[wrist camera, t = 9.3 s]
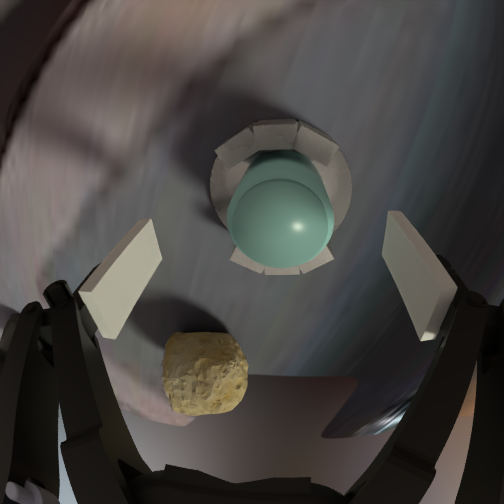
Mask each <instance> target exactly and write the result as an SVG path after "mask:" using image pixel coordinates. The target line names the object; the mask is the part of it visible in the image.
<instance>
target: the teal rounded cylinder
mask: <svg viewBox="0 0 504 504" xmlns="http://www.w3.org/2000/svg"><path fill="white" fill-rule="evenodd" d="M227 225H228V230H229V233H230V236H231V238H232V240H233V242H234V243H235V245H236V246H237V247H238V249H239V250H240V251H241V252H242V253H243V254H245V255H246V256H247V257H249V258H250V259H252V260H253V261H255V262H257V263H260V264H262V265H265V266H268V267H274V268H289V267H294V266H297V265H301V264H303V263H306V262H308V261H309V260H311V259H313V258H314V257H316V256H317V255H318V254H319V253H320V252H321V251H322V250H323V249H324V248H325V246H326V245H327V243H328V242H329V240H330V237H331V235H332V232H333V227H334V214H333V209H332V206H331V203H330V200H329V197H328V194H327V192H326V189H325V186H324V183H323V180H322V178H321V175H320V173H319V171H318V169H317V168H316V167H315V165H314V164H313V163H312V162H311V161H310V160H308V159H307V158H306V157H304V156H302V155H300V154H298V153H295V152H292V151H286V150H278V151H272V152H268V153H265V154H263V155H261V156H259V157H258V158H257V159H255V160H254V161H253V162H252V163H251V164H250V165H249V166H248V168H247V170H246V171H245V173H244V175H243V177H242V179H241V181H240V183H239V185H238V187H237V189H236V191H235V193H234V195H233V197H232V199H231V202H230V204H229V207H228V212H227Z"/></svg>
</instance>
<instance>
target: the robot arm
mask: <svg viewBox="0 0 504 504" xmlns="http://www.w3.org/2000/svg"><path fill="white" fill-rule="evenodd" d="M382 256H383V258H384V260H385V262H386V264H387V266H388V268H389V270H390V272H391V274H392V277H393V279H394V281H395V283H396V285H397V287H398V289H399V292H400V294H401V296H402V298H403V300H404V303H405V305H406V307H407V310H408V312H409V314H410V317H411V319H412V321H413V324H414V326H415V329H416V331H417V334H418V336H419V339H420V341H425V340H431V339H435V338H436V336H437V334H438V332H439V330H441V332H442V334H443V337H442V339H441V341H440V343H439V345H438V347H437V349H436V351H435V352H434V353H435V355H434V357H433V360H432V362H431V364H430V366H429V368H428V370H427V372H426V375H425V377H424V379H423V381H422V383H421V385H420V386H419V388H418V390H417V392H416V394H415V396H414V398H413V400H412V401H411V403H410V405H409V407H408V408H407V410H406V412H405V414H404V415H403V417H402V419H401V420H400V422H399V424H398V425H397V427H396V428H395V430H394V431H393V433H392V435H391V436H390V438H389V439H388V441H387V442H386V444H385V445H384V447H383V448H382V449H381V451H380V452H379V454H378V455H377V457H376V458H375V459H374V460H373V462H372V463H371V465H370V466H369V467H368V468H367V470H366V471H365V472H364V473H363V474H362V475H361V477H360V478H359V479H358V480H357V481H356V482H355V483H354V484H353V486H352V487H351V488H350V489H349V490H348V491H347V492H346V493H345V495H344V496H343V495H342V494H341V493H339V492H337V491H335V490H334V489H331V488H329V487H327V486H323V485H320V484H316V483H311V477H301V478H300V477H299V478H268V479H263V480H258V481H251V482H244V483H230V482H228V481H225V480H222V479H219V478H216V477H214V476H211V475H209V474H206V473H203V472H201V471H198V470H193V469H187V468H181V467H177V466H172V465H167V464H166V466H165V469H164V470H160V471H154V472H152V471H151V470H150V468H149V467H148V465H147V464H146V463H145V462H144V461H143V460H142V458H141V456H140V454H139V452H138V450H137V448H136V446H135V444H134V442H133V439H132V437H131V435H130V432H129V430H128V428H127V425H126V423H125V421H124V418H123V416H122V413H121V410H120V408H119V405H118V403H117V400H116V397H115V394H114V392H113V389H112V386H111V383H110V380H109V377H108V374H107V370H106V367H105V364H104V361H103V357H102V354H101V350H100V347H99V343H98V339H97V338H96V336H95V332H96V331H97V329H99V331H100V333H101V335H102V336H103V337H104V338H111V339H116V338H117V336H118V334H119V332H120V331H121V329H122V327H123V325H124V323H125V321H126V320H127V318H128V316H129V314H130V313H131V311H132V309H133V307H134V305H135V304H136V302H137V300H138V299H139V297H140V295H141V293H142V292H143V290H144V288H145V287H146V285H147V283H148V282H149V280H150V278H151V277H152V275H153V273H154V272H155V270H156V268H157V267H158V265H159V263H160V262H161V260H162V257H161V253H160V249H159V246H158V242H157V239H156V235H155V231H154V227H153V223H152V219H140V220H139V221H138V222H137V223H136V224H135V225H134V226H133V227H132V229H131V230H130V231H129V232H128V233H127V234H126V235H125V236H124V237H123V238H122V240H121V241H120V242H119V243H118V244H117V245H116V246H115V247H114V249H113V250H112V251H111V252H110V253H109V254H108V255H107V257H106V258H105V259H104V260H103V261H102V262H101V263H100V264H98V265H97V266H96V267H94V268H93V269H92V271H91V272H90V273H89V275H87V277H86V278H85V280H83V282H82V283H81V284H80V285H79V286H78V288H77V289H76V290H75V292H74V293H73V294H72V292H71V290H70V288H69V286H68V284H67V282H66V281H65V280H58V281H55V282H53V283H52V284H50V285H49V286H48V287H47V288H46V289H45V290H44V293H43V295H44V297H45V299H46V301H47V303H48V305H49V306H50V308H48V309H43V308H42V306H41V304H40V302H37V301H35V302H32V303H29V304H28V305H26V306H25V307H24V308H23V310H22V311H21V314H20V315H18V314H13V315H12V316H11V317H10V318H9V320H8V321H7V323H6V325H5V328H4V331H3V334H2V337H1V340H0V504H60V502H59V500H58V499H59V486H60V479H59V460H58V410H59V403H60V409H61V414H62V419H63V423H64V428H65V432H66V438H67V439H66V441H64V442H61V445H60V447H61V453H62V457H63V461H64V464H65V468H66V471H67V475H68V477H69V481H70V484H71V487H72V490H73V492H74V495H75V498H76V501H77V503H78V504H419V502H420V501H421V499H422V498H423V496H424V495H425V493H426V491H427V490H428V488H429V486H430V485H431V483H432V481H433V479H434V477H435V474H436V469H435V464H436V462H437V460H438V458H439V456H440V454H441V452H442V450H443V448H444V446H445V444H446V442H447V440H448V438H449V436H450V433H451V431H452V429H453V427H454V424H455V422H456V419H457V417H458V415H459V412H460V410H461V407H462V404H463V402H464V399H465V396H466V393H467V390H468V387H469V384H470V381H471V378H472V375H473V371H474V368H475V365H476V361H477V385H476V399H475V409H474V418H473V426H472V432H471V438H470V444H469V450H468V454H467V459H466V463H465V468H464V472H463V476H462V480H461V483H460V487H459V490H458V493H457V496H456V500H455V504H504V299H503V300H502V302H501V304H500V306H494V305H488V303H487V301H486V299H485V298H484V297H483V296H482V295H480V294H479V293H477V292H473V291H469V290H468V289H467V287H466V286H465V284H464V283H463V281H462V280H461V278H460V277H459V275H458V274H457V273H456V271H455V270H454V269H453V267H452V266H451V264H450V263H449V262H448V260H446V259H445V258H444V257H442V256H441V255H435V254H434V253H433V251H432V250H431V249H430V247H429V246H428V245H427V243H426V242H425V241H424V239H423V238H422V237H421V236H420V234H419V233H418V232H417V230H416V229H415V228H414V227H413V225H412V224H411V223H410V222H409V221H408V219H407V218H406V217H405V216H404V215H403V213H402V212H401V211H388V216H387V224H386V231H385V237H384V244H383V250H382Z"/></svg>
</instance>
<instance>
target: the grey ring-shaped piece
mask: <svg viewBox="0 0 504 504" xmlns="http://www.w3.org/2000/svg"><path fill="white" fill-rule="evenodd" d="M338 147H339V146H338V144H337V143H336V142H335V141H334V140H333V139H332V138H331V137H330V136H328V135H327V134H325V133H323V132H321V131H319V130H318V129H316V128H314V127H312V126H310V125H308V124H307V123H305V122H303V121H301V120H299V121H295V119H270V120H258V121H257V122H253V123H252V124H250V125H249V126H247V127H245V128H244V129H242V130H241V131H239V132H238V133H236V134H235V135H234V136H232V137H231V138H229V139H228V140H226V141H225V142H224V143H223V144H222V145H220V146H219V147H218V148H217V149H216V150H215V152H216V154H217V155H218V156H217V158H216V160H215V162H214V165H213V168H212V172H211V178H210V192H211V198H212V202H213V205H214V208H215V211H216V213H217V214H218V216H219V218H220V220H221V221H222V223H223V224H224V225H225V226H226V228H227V229H228V225H227V212H228V207H229V204H230V202H231V199H232V197H233V195H234V193H235V191H236V189H237V187H238V185H239V183H240V181H241V179H242V177H243V175H244V173H245V171H246V170H247V168H248V166H249V165H250V164H251V163H252V162H253V161H254V160H255V159H257V158H258V157H259V156H261V155H263V154H265V153H268V152H272V151H278V150H286V151H292V152H295V153H298V154H300V155H302V156H304V157H306V158H307V159H308V160H310V161H311V162H312V163H313V164H314V165H315V167H316V168H317V169H318V171H319V173H320V175H321V178H322V180H323V183H324V186H325V189H326V192H327V194H328V197H329V200H330V203H331V206H332V209H333V214H334V227H333V232H334V231H335V230H336V229H337V227H338V226H339V225H340V224H341V222H342V220H343V219H344V217H345V215H346V213H347V210H348V208H349V204H350V201H351V194H352V181H351V175H350V171H349V168H348V165H347V162H346V160H345V158H344V156H343V155H342V153H341V152H340V150H339V149H338ZM333 232H332V233H333ZM333 259H334V255H333V251H332V246H331V242H330V240H329V242H328V243H327V245H326V246H325V248H324V249H323V250H322V251H321V252H320V253H319V254H318V255H317V256H316V257H314V258H313V259H311V260H309V261H308V262H306V263H303V264H301V265H297V266H294V267H289V268H274V267H268V266H265V265H262V264H260V263H257V262H255V261H253V260H252V259H250V258H249V257H247V256H246V255H245V254H243V253H242V252H241V251H240V250H239V249H238V247H237V246H236V245H234V248H233V251H232V254H231V257H230V260H231V261H233V262H235V263H238V264H240V265H242V266H244V267H247V268H249V269H251V270H253V271H255V272H258V273H260V274H261V273H262V271H263V270H264V268H265V275H299V269H301V271H302V272H303V274H304V273H306V272H308V271H310V270H313V269H315V268H317V267H319V266H321V265H323V264H325V263H327V262H329V261H331V260H333Z"/></svg>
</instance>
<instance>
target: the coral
mask: <svg viewBox="0 0 504 504" xmlns="http://www.w3.org/2000/svg"><path fill="white" fill-rule="evenodd" d="M161 366H162V367H163V372H162V375H161V379H162V383H163V387H164V391H165V394H166V396H167V397H168V398H169V399H168V402H169V403H170V406H171V408H172V411H176V412H178V413H184V414H186V415H201V414H210V413H211V414H219V413H223V412H228V411H230V410H232V409H233V408H234V407H235V406H236V405H238V403H239V402H240V401H241V400H242V398H243V396H244V393H245V391H246V389H247V385H248V384H247V376H248V375H247V370H248V363H247V361H246V357H245V356H244V355H243V352H242V350H241V349H240V346H239V345H238V343H237V342H236V340H234V338H233V337H232V336H231V335H230V334H228V333H218V332H214V333H211V332H193V333H190V332H189V333H182V332H176V333H173V334H172V335H171V336H170V337H169V339H168V341H167V343H166V346H165V352H164V358H163V361H162V363H161Z"/></svg>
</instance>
